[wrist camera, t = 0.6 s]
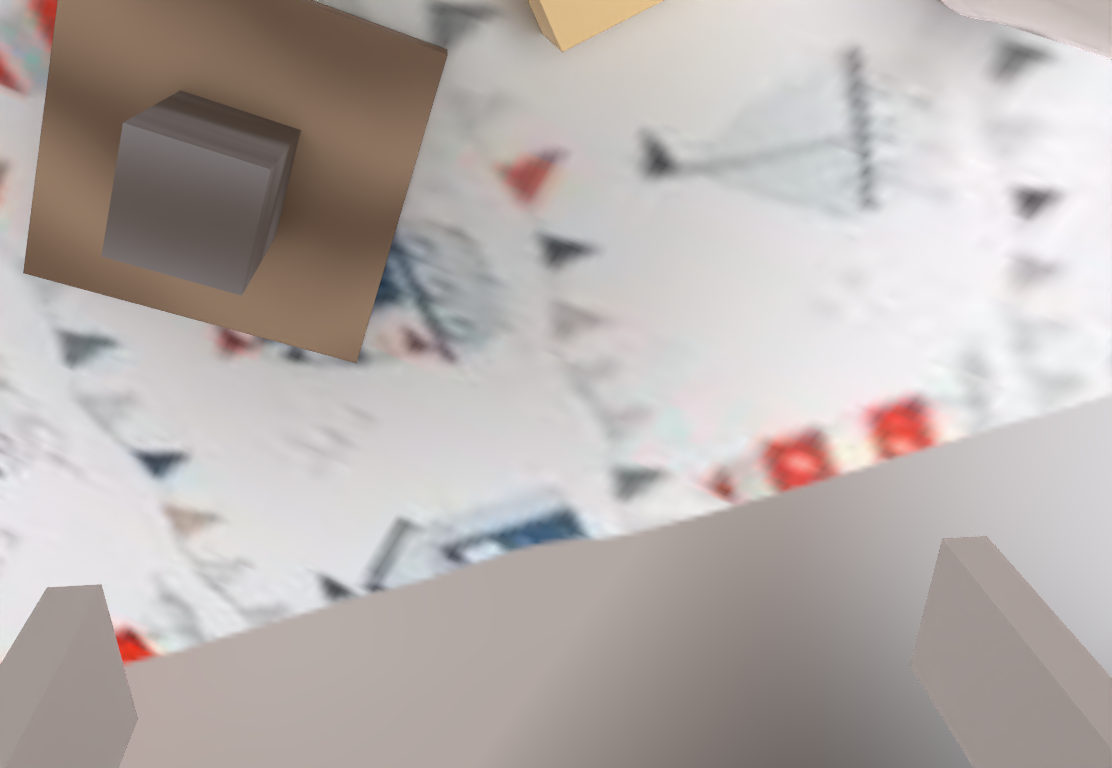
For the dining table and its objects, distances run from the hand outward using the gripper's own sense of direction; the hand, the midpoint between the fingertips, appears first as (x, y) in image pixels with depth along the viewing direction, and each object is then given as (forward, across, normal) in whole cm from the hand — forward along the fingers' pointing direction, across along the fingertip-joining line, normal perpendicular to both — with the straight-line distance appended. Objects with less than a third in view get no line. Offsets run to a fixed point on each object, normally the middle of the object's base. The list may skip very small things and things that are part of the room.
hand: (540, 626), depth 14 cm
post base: (+23, -9, +2) cm, 24 cm away
